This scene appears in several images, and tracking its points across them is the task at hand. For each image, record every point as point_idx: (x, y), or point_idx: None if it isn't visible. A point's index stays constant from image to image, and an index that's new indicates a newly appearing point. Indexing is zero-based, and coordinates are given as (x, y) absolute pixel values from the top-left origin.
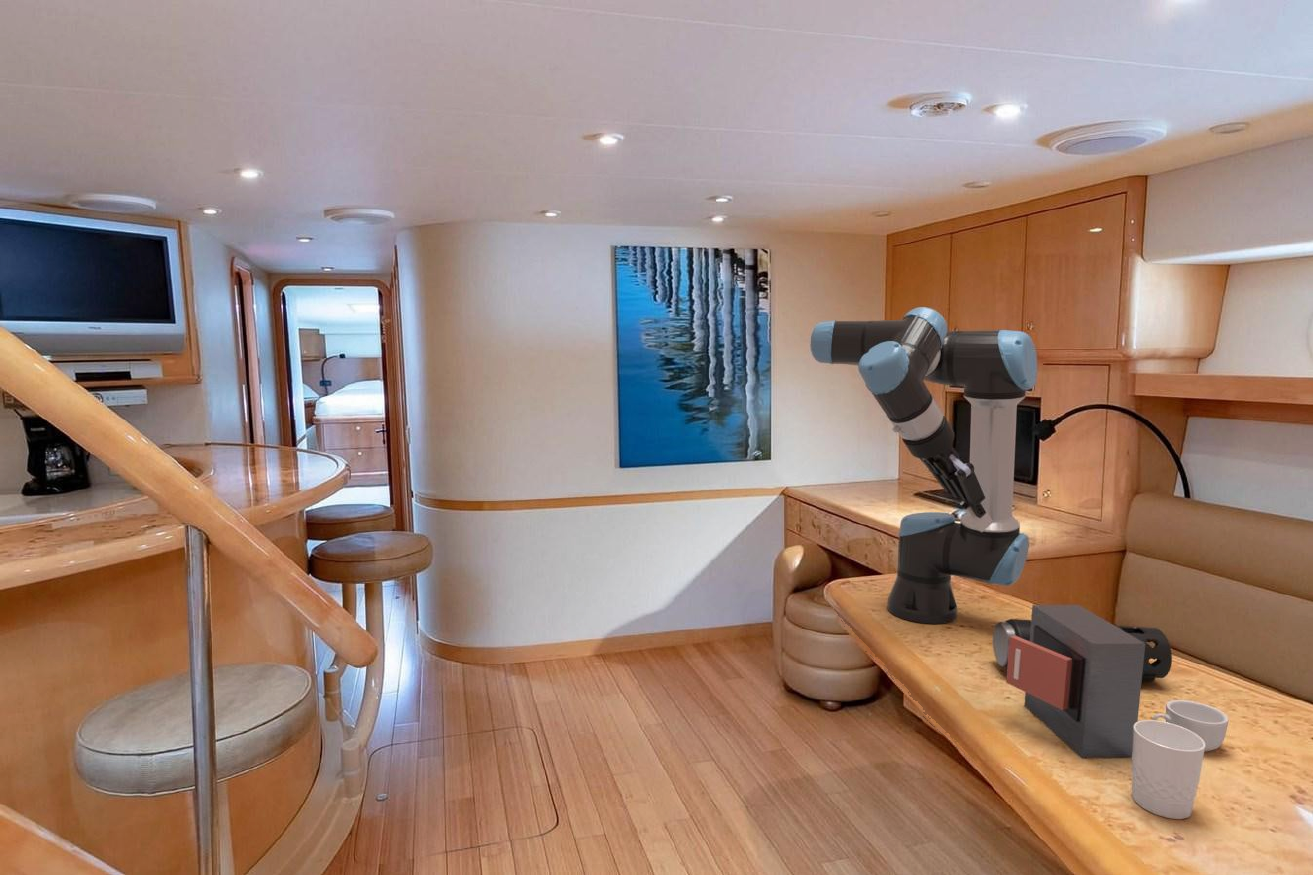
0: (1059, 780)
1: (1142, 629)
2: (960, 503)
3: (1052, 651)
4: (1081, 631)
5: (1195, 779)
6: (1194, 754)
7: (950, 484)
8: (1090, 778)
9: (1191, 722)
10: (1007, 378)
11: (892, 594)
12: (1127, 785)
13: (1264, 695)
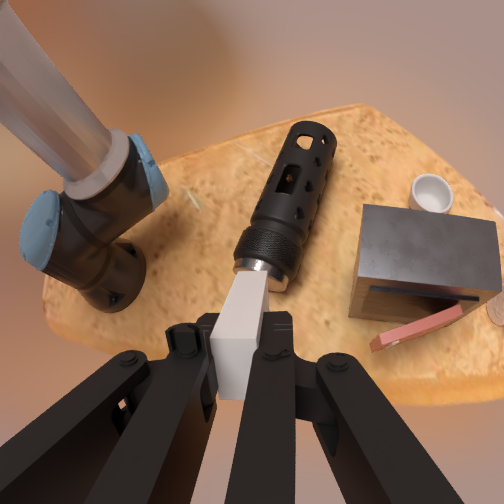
0: (470, 371)
1: (306, 132)
2: (223, 398)
3: (437, 315)
4: (466, 275)
5: None
6: None
7: (189, 488)
8: (471, 341)
9: (448, 210)
10: None
11: (90, 302)
12: (481, 315)
13: (348, 109)
